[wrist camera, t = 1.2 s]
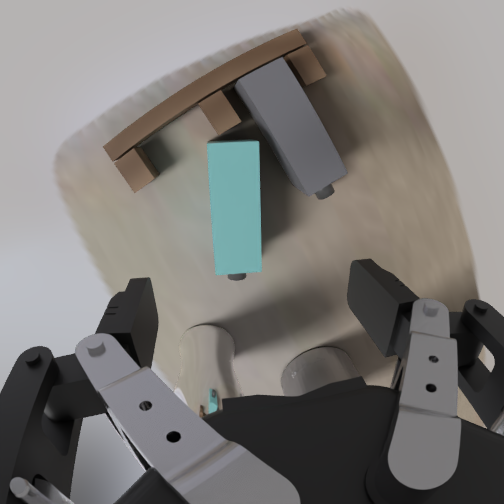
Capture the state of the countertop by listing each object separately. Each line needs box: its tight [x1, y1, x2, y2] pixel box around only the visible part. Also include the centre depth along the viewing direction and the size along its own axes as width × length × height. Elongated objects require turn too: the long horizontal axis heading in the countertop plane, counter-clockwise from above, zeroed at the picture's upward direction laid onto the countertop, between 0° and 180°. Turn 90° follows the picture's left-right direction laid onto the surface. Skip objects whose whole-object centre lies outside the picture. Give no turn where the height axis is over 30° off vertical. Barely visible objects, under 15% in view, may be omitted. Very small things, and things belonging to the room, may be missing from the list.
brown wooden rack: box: [103, 29, 327, 193], centre depth 23 cm, size 5×18×2 cm, turn 121°
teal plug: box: [207, 139, 262, 281], centre depth 25 cm, size 12×4×5 cm, turn 2°
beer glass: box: [173, 325, 244, 418], centre depth 26 cm, size 7×7×15 cm
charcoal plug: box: [234, 57, 348, 199], centre depth 23 cm, size 12×4×5 cm, turn 31°
